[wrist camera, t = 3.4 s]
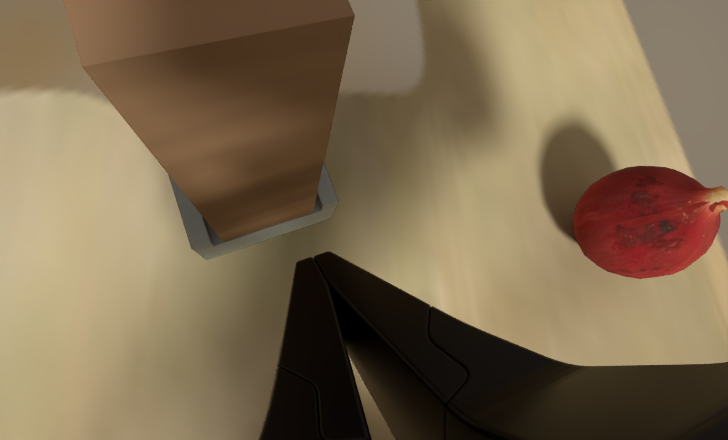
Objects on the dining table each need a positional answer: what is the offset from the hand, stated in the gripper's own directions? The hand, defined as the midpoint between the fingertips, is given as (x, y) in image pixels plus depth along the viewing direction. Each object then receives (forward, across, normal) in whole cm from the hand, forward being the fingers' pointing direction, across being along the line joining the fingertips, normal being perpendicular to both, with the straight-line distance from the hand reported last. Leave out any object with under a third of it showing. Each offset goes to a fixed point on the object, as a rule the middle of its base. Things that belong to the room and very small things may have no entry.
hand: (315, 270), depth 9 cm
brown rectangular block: (+8, +1, +1) cm, 8 cm away
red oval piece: (+6, -17, +9) cm, 21 cm away
